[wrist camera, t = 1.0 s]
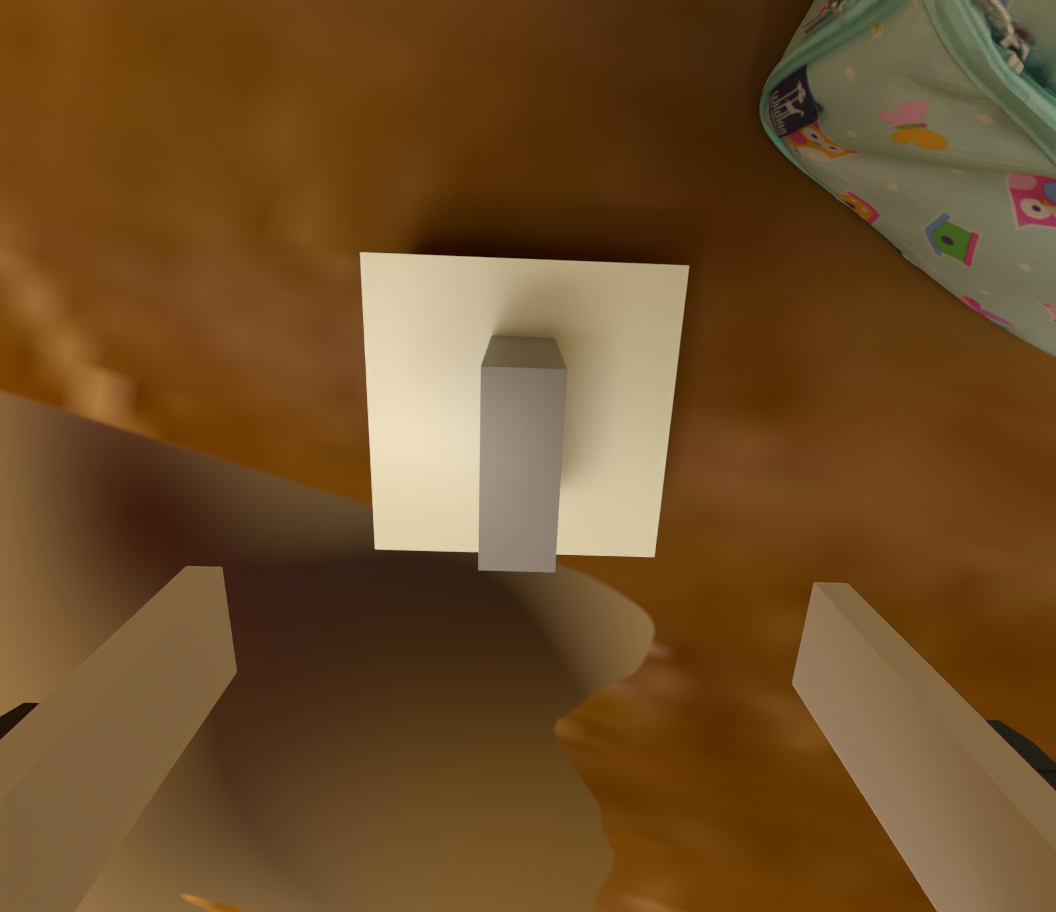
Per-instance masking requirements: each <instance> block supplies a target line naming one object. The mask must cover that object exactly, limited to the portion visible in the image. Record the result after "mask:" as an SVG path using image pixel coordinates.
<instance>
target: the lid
mask: <svg viewBox="0 0 1056 912" xmlns="http://www.w3.org/2000/svg"><path fill="white" fill-rule="evenodd" d="M360 262H361V281H362V301H363V321H364V341H365V361H366V381H367V401H368V421H369V441H370V460H371V480H372V500H373V520H374V538H375V549H385V550H386V549H387V550H422V551H456V552H457V551H458V552H479V554H478V555H479V556H478V558H479V559H478V570H489V571H490V570H492V571H527V572H555V565H556V554H563V555H598V556H633V557H654V556H655V548H656V539H657V531H658V523H659V514H660V506H661V498H662V489H663V481H664V473H665V464H666V456H667V448H668V440H669V431H670V423H671V415H672V406H673V398H674V390H675V381H676V373H677V365H678V356H679V348H680V340H681V331H682V323H683V315H684V306H685V298H686V290H687V281H688V273H689V266H688V265H668V264H643V263H618V262H593V261H568V260H544V259H519V258H494V257H469V256H444V255H419V254H394V253H369V252H360Z"/></svg>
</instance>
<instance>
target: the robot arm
mask: <svg viewBox="0 0 1056 912" xmlns="http://www.w3.org/2000/svg"><path fill="white" fill-rule="evenodd" d="M236 672H237V669H236V662H235V655H234V648H233V641H232V634H231V627H230V620H229V613H228V606H227V598H226V592H225V585H224V577H223V570H222V567H203V566H186V567H185V568H184V569H183V570H182V571H181V572H180V573H179V574H178V575H176V576H175V577H174V578H173V579H172V580H171V581H170V582H169V583H168V584H167V585H166V586H165V587H164V588H163V589H162V590H160V591H159V592H158V593H157V594H156V595H155V596H154V597H153V598H152V599H151V600H150V601H149V602H148V603H147V604H145V605H144V606H143V607H142V608H141V609H140V610H139V611H138V612H137V613H136V614H135V615H134V616H133V617H132V618H130V620H128V621H127V622H126V623H125V624H124V625H123V626H122V627H121V628H120V629H119V630H118V631H116V632H115V633H114V634H113V635H112V636H111V637H110V638H109V639H108V640H107V641H106V642H105V643H104V644H103V645H101V647H99V648H98V649H97V650H96V651H95V652H94V653H93V654H92V655H91V656H90V657H89V658H88V659H87V660H85V661H84V662H83V663H82V664H81V665H80V666H79V667H78V668H77V669H76V670H75V671H74V672H73V673H71V675H69V676H68V677H67V678H66V679H65V680H64V681H63V682H62V683H61V684H60V685H59V686H58V687H56V689H54V690H53V691H52V692H51V693H50V694H49V695H48V696H47V697H46V698H45V699H44V700H43V701H41V702H40V703H23V704H21V705H20V706H18V707H16V708H14V709H13V710H11V711H9V712H8V713H6V714H4V715H2V716H1V717H0V912H74V911H75V910H76V908H77V907H78V905H79V904H80V902H81V901H82V899H83V898H84V896H85V895H86V893H87V892H88V891H89V889H90V888H91V886H92V885H93V883H94V882H95V880H96V879H97V877H98V876H99V874H100V873H101V871H102V870H103V868H104V867H105V865H106V864H107V863H108V861H109V860H110V858H111V857H112V855H113V854H114V852H115V851H116V849H117V848H118V846H119V845H120V843H121V842H122V840H123V839H124V838H125V836H126V835H127V833H128V832H129V830H130V829H131V827H132V826H133V824H134V823H135V821H136V820H137V818H138V817H139V815H140V814H141V812H142V811H143V809H144V808H145V806H146V805H147V804H148V802H149V801H150V799H151V798H152V796H153V795H154V793H155V792H156V790H157V789H158V787H159V786H160V784H161V783H162V781H163V780H164V779H165V777H166V775H167V774H168V773H169V771H170V770H171V768H172V767H173V765H174V763H175V762H176V761H177V759H178V758H179V756H180V755H181V753H182V752H183V751H184V749H185V748H186V746H187V745H188V743H189V742H190V740H191V739H192V737H193V736H194V734H195V733H196V731H197V730H198V728H199V727H200V725H201V724H202V722H203V721H204V720H205V718H206V716H207V715H208V714H209V712H210V711H211V709H212V708H213V706H214V705H215V703H216V702H217V700H218V699H219V697H220V696H221V694H222V693H223V692H224V690H225V689H226V687H227V686H228V684H229V683H230V681H231V680H232V678H233V677H234V675H235V674H236ZM792 685H793V686H794V688H795V689H796V691H797V692H798V694H799V696H800V697H801V699H802V700H803V702H804V703H805V705H806V707H807V708H808V710H809V711H810V713H811V714H812V716H813V718H814V719H815V721H816V722H817V724H818V725H819V727H820V728H821V730H822V732H823V733H824V735H825V736H826V738H827V739H828V741H829V743H830V744H831V746H832V747H833V749H834V750H835V752H836V754H837V755H838V757H839V758H840V760H841V761H842V763H843V765H844V766H845V768H846V769H847V771H848V772H849V774H850V776H851V777H852V779H853V780H854V782H855V783H856V785H857V787H858V788H859V790H860V791H861V793H862V794H863V796H864V798H865V799H866V801H867V802H868V804H869V805H870V807H871V808H872V810H873V812H874V813H875V815H876V816H877V818H878V819H879V821H880V823H881V824H882V826H883V827H884V829H885V830H886V832H887V834H888V835H889V837H890V838H891V840H892V841H893V843H894V845H895V846H896V848H897V849H898V851H899V852H900V854H901V856H902V857H903V859H904V860H905V862H906V863H907V865H908V867H909V868H910V870H911V871H912V873H913V874H914V876H915V878H916V879H917V881H918V882H919V884H920V885H921V887H922V888H923V890H924V892H925V893H926V895H927V896H928V898H929V899H930V901H931V903H932V904H933V906H934V907H935V909H936V910H937V912H1056V763H1054V762H1053V761H1052V760H1051V759H1050V758H1049V757H1048V756H1047V755H1046V754H1045V753H1044V752H1043V751H1042V750H1041V749H1040V748H1039V747H1038V746H1036V745H1035V744H1034V743H1033V742H1031V741H1030V740H1028V739H1027V738H1025V737H1024V736H1022V735H1021V734H1019V733H1017V732H1016V731H1014V730H1013V729H1011V728H1010V727H1008V726H1007V725H1005V724H1004V723H1002V722H1000V721H999V720H984V719H983V718H982V717H981V716H980V715H979V714H978V713H977V712H976V711H975V710H974V709H973V708H972V707H971V706H970V705H969V704H968V703H967V702H966V701H965V700H964V699H963V698H962V697H961V696H960V695H959V694H958V693H957V692H956V691H955V690H954V689H953V688H952V687H951V686H950V685H949V684H948V683H947V682H946V681H945V680H944V679H943V678H942V677H941V676H940V675H939V674H938V673H937V672H936V671H935V670H934V669H933V668H932V667H931V666H930V665H929V664H928V663H927V662H926V661H925V660H924V659H923V658H922V657H921V656H920V655H919V654H918V653H917V652H916V651H915V650H914V649H913V648H912V647H911V646H910V645H909V644H908V643H907V642H906V641H905V640H904V639H903V638H902V637H901V636H900V635H899V634H898V633H897V632H896V631H895V630H894V629H893V628H892V627H891V626H890V625H889V624H888V623H887V622H886V621H885V620H884V619H883V618H882V617H881V616H880V615H879V614H878V613H877V612H876V611H875V610H874V609H873V608H872V607H871V606H870V605H869V604H868V603H867V602H866V601H865V600H864V599H863V598H862V597H861V596H860V595H859V594H858V593H857V592H856V591H855V590H854V589H853V588H852V587H851V586H850V585H849V584H848V583H822V582H814V584H813V589H812V593H811V598H810V602H809V607H808V612H807V616H806V621H805V626H804V630H803V635H802V640H801V644H800V649H799V653H798V658H797V663H796V667H795V672H794V677H793V681H792Z"/></svg>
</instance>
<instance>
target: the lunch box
mask: <svg viewBox="0 0 1056 912" xmlns="http://www.w3.org/2000/svg"><path fill="white" fill-rule="evenodd" d="M759 112H760V119H761V122H762V125H763V127H764V129H765V131H766V133H767V135H768V136H769V138H770V139H771V140H772V142H773V143H774V144H775V146H776V147H777V148H778V149H779V150H780V151H781V152H782V153H783V154H784V155H785V156H786V157H787V158H788V159H789V160H790V161H791V162H792V163H793V164H795V165H796V166H797V167H798V168H799V169H800V170H801V171H802V172H804V173H805V174H806V175H808V176H809V177H810V178H812V179H813V180H814V181H816V182H817V183H818V184H820V185H821V186H822V187H824V188H825V189H826V190H827V191H829V192H830V193H831V194H832V195H833V196H835V197H836V198H837V199H838V200H839V201H841V202H842V203H844V204H845V205H847V206H848V207H849V208H851V209H852V210H853V211H854V212H855V213H857V214H858V215H859V216H860V217H861V218H863V219H864V220H865V221H866V222H868V223H869V224H870V225H871V226H872V227H874V228H875V229H876V230H877V231H878V232H879V233H881V234H882V235H883V236H884V237H885V238H886V239H888V240H889V241H890V242H891V243H892V244H893V245H894V246H895V247H896V248H898V249H899V250H900V251H901V252H902V256H903V257H904V258H906V259H907V260H908V261H910V262H911V263H912V264H913V265H915V266H917V267H918V268H920V269H921V270H923V271H924V272H925V273H926V274H928V275H929V276H930V277H931V278H933V279H934V280H935V281H936V282H938V283H939V284H940V285H941V286H943V287H944V288H945V289H947V290H948V291H949V292H950V293H952V294H953V295H954V296H956V297H957V298H958V299H960V300H961V301H962V302H964V303H965V304H966V305H968V306H969V307H970V308H972V309H973V310H975V311H976V312H978V313H979V314H981V315H982V316H984V317H985V318H987V319H988V320H990V321H991V322H993V323H995V324H996V325H998V326H1000V327H1001V328H1003V329H1005V330H1006V331H1008V332H1010V333H1011V334H1013V335H1015V336H1017V337H1018V338H1020V339H1022V340H1024V341H1025V342H1027V343H1029V344H1031V345H1033V346H1035V347H1036V348H1038V349H1039V350H1041V351H1043V352H1045V353H1047V354H1049V355H1052V356H1054V357H1056V0H814V1H813V3H812V5H811V7H810V9H809V11H808V12H807V14H806V16H805V18H804V19H803V21H802V22H801V24H800V25H799V27H798V29H797V30H796V32H795V34H794V36H793V38H792V39H791V41H790V43H789V45H788V47H787V48H786V50H785V52H784V54H783V57H782V59H781V61H780V62H779V63H778V64H777V66H776V67H775V68H774V70H773V71H772V73H771V74H770V76H769V77H768V79H767V81H766V83H765V85H764V88H763V91H762V96H761V100H760V108H759Z"/></svg>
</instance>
